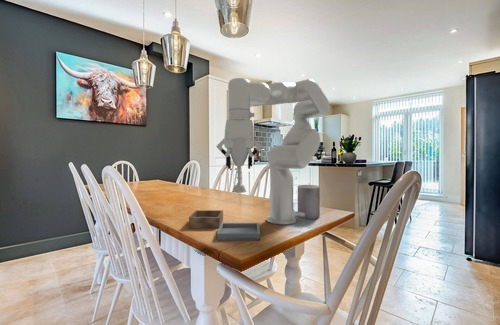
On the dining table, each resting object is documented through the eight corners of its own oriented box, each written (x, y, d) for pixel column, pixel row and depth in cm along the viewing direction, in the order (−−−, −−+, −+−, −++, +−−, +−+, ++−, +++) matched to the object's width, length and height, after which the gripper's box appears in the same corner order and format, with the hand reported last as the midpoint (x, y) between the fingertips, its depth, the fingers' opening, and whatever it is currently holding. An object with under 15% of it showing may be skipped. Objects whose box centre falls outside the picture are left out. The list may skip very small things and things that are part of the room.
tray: (258, 228, 89) (258, 222, 89) (260, 240, 77) (260, 233, 77) (221, 228, 89) (221, 222, 89) (216, 240, 77) (216, 233, 77)
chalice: (250, 190, 85) (250, 140, 85) (248, 193, 78) (248, 138, 78) (230, 189, 86) (230, 140, 85) (226, 192, 79) (226, 138, 78)
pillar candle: (305, 212, 114) (305, 181, 113) (324, 216, 106) (324, 183, 106) (293, 216, 107) (292, 183, 107) (311, 220, 100) (311, 185, 99)
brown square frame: (223, 219, 101) (223, 210, 101) (219, 228, 89) (219, 217, 89) (195, 219, 101) (195, 210, 101) (188, 228, 89) (188, 217, 89)
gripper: (263, 118, 85) (263, 168, 86) (215, 117, 85) (215, 168, 86) (265, 114, 78) (264, 169, 78) (212, 114, 78) (212, 169, 78)
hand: (239, 168), depth 82 cm, fingers closed on chalice, 6 cm apart
